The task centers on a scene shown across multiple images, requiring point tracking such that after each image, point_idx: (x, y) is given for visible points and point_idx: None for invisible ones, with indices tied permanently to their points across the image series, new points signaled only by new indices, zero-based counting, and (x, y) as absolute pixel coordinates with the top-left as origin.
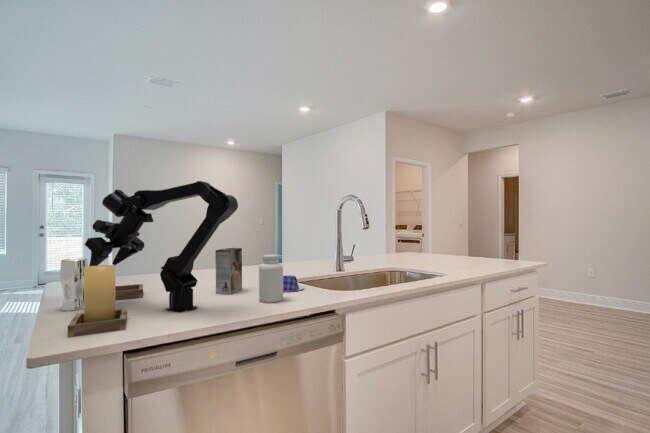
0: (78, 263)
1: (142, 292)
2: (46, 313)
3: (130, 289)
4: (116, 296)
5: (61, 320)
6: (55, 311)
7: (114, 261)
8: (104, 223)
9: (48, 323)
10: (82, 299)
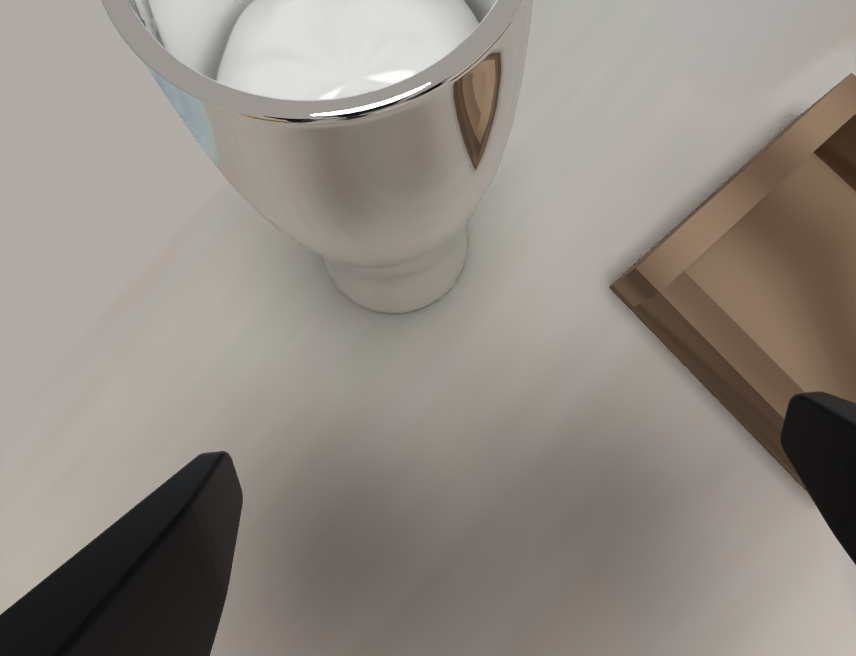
0: (235, 144)
1: None
2: None
3: None
4: (685, 347)
5: (112, 453)
6: None
7: (834, 447)
8: None
9: (43, 433)
10: (398, 289)
